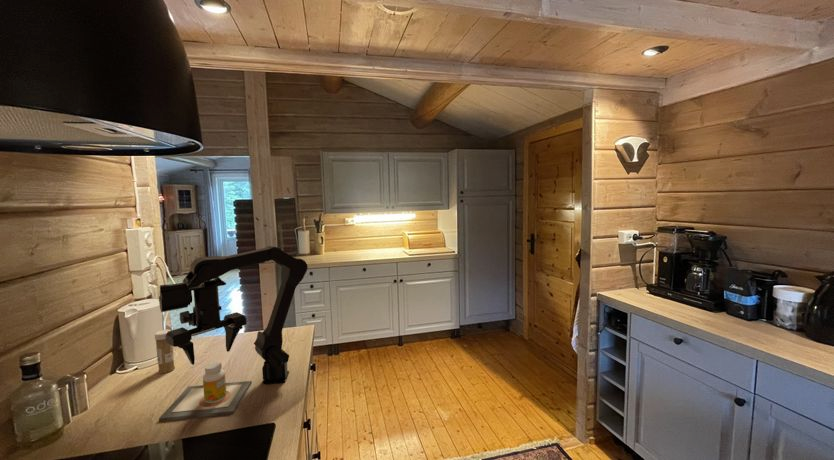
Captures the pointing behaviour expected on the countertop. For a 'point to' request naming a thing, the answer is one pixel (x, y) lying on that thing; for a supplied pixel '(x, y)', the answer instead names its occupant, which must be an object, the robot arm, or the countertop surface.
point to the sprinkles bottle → (164, 352)
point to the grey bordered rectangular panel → (195, 405)
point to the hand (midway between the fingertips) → (211, 357)
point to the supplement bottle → (214, 383)
